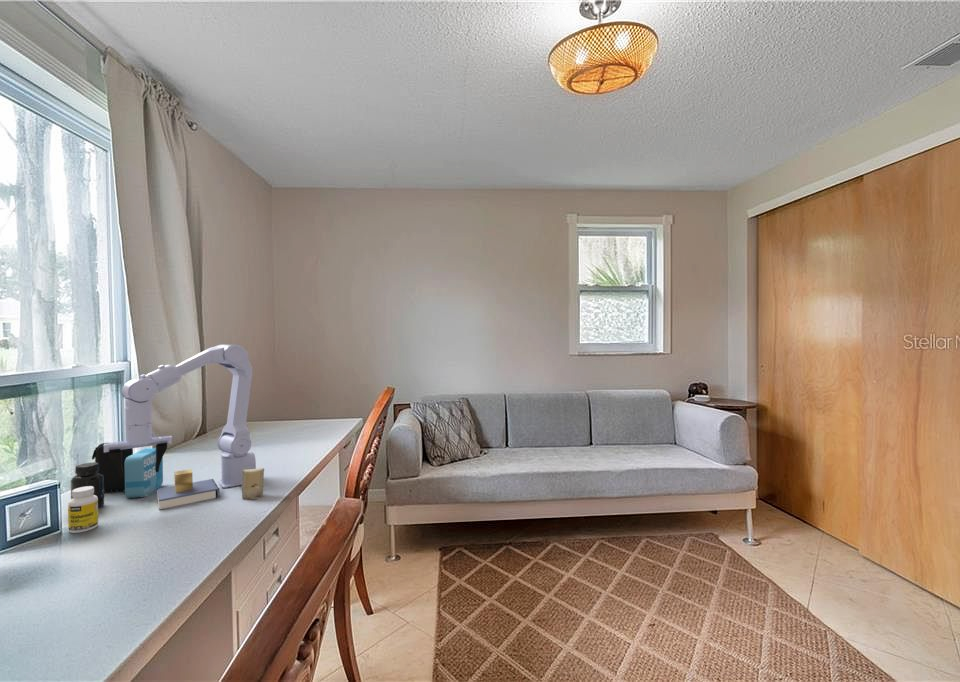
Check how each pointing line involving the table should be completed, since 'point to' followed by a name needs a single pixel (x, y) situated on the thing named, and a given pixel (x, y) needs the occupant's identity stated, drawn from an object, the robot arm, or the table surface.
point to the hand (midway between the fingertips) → (139, 474)
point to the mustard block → (183, 481)
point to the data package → (142, 473)
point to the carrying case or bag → (111, 468)
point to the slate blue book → (187, 494)
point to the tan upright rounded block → (252, 483)
